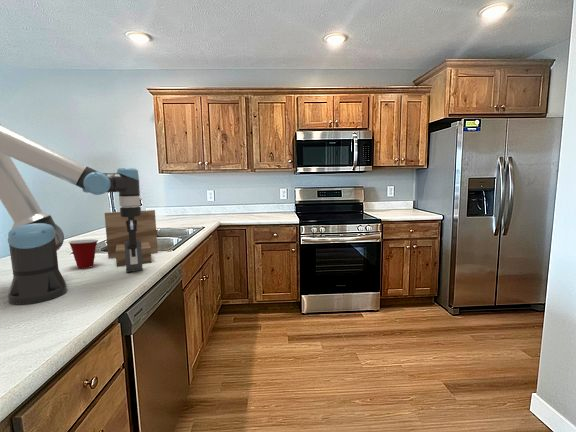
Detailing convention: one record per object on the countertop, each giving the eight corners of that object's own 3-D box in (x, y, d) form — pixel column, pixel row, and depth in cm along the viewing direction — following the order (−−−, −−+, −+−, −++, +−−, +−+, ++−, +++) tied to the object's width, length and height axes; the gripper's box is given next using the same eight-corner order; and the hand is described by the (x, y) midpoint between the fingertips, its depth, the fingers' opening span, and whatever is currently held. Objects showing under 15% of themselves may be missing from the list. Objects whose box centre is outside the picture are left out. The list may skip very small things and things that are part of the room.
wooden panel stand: (161, 261, 143) (158, 214, 140) (106, 268, 133) (101, 217, 130) (157, 251, 161) (154, 210, 158) (108, 257, 151) (104, 212, 148)
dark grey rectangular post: (142, 269, 128) (140, 241, 126) (126, 271, 125) (124, 243, 124) (142, 268, 131) (140, 240, 129) (126, 270, 128) (124, 241, 126)
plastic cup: (106, 263, 140) (103, 237, 138) (88, 270, 129) (85, 242, 128) (84, 262, 141) (81, 237, 140) (64, 270, 130) (61, 242, 129)
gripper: (141, 207, 119) (145, 266, 122) (139, 204, 133) (143, 257, 136) (119, 208, 116) (123, 269, 119) (120, 205, 130) (124, 259, 133)
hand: (134, 262), depth 128 cm, fingers closed on dark grey rectangular post, 3 cm apart
